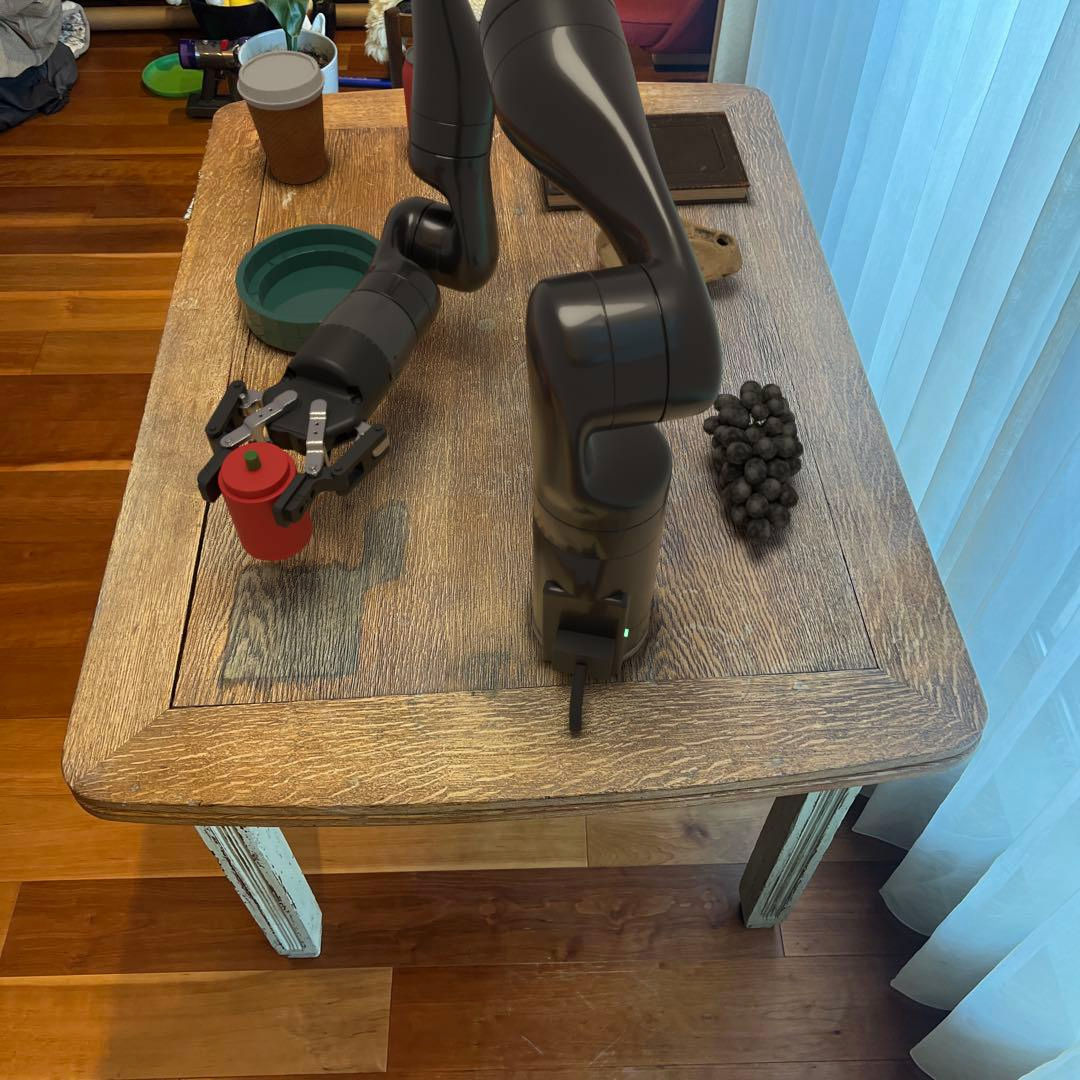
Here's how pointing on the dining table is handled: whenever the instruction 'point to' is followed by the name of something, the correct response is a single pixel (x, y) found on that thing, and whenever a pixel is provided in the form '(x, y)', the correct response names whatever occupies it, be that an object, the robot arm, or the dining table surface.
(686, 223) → the oil lamp
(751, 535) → the fruit
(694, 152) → the hardcover book
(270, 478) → the red cylinder
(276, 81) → the disposable coffee cup
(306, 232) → the bowl
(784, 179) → the dining table surface
